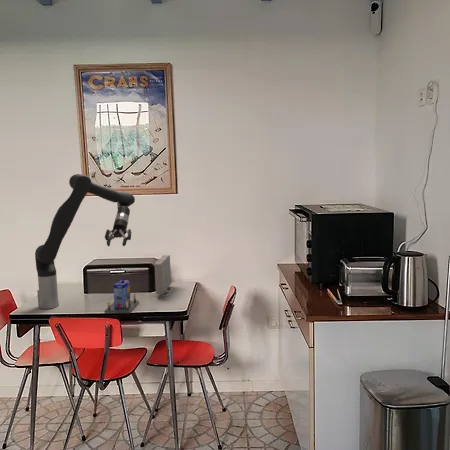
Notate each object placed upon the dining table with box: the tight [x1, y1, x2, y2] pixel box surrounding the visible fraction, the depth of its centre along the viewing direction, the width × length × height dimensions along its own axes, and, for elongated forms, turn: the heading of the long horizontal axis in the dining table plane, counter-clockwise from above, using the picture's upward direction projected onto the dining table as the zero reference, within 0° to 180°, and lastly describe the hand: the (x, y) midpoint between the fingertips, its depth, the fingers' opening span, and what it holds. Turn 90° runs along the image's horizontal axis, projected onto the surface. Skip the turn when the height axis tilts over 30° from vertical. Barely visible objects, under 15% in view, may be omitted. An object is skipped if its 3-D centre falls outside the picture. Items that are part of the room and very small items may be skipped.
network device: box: [153, 254, 174, 298], centre depth 259 cm, size 26×9×20 cm, turn 176°
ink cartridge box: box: [113, 277, 131, 308], centre depth 230 cm, size 10×6×14 cm, turn 170°
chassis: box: [104, 293, 140, 314], centre depth 230 cm, size 13×17×6 cm
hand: (115, 245), depth 243 cm, fingers open, 8 cm apart
